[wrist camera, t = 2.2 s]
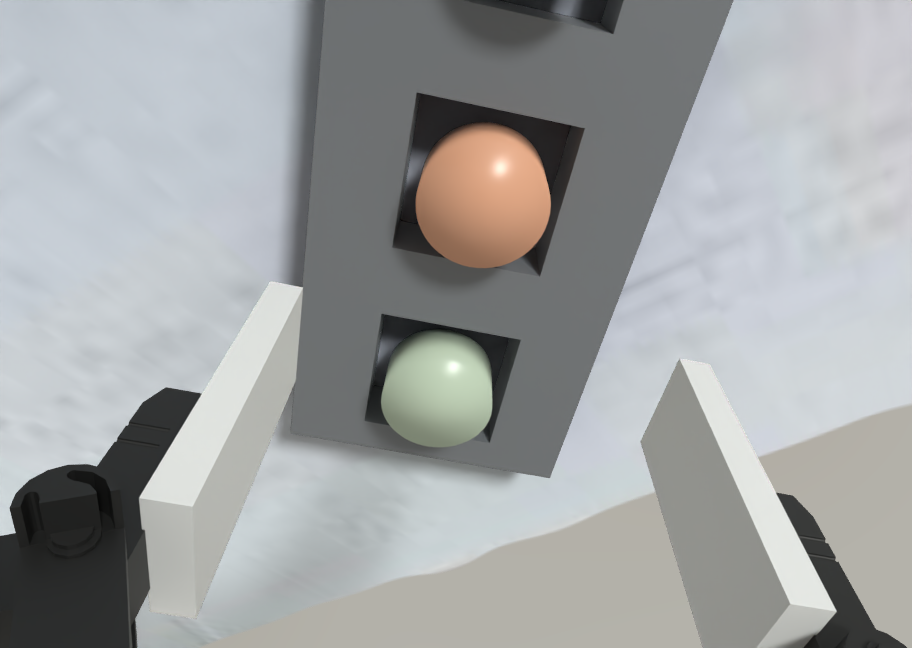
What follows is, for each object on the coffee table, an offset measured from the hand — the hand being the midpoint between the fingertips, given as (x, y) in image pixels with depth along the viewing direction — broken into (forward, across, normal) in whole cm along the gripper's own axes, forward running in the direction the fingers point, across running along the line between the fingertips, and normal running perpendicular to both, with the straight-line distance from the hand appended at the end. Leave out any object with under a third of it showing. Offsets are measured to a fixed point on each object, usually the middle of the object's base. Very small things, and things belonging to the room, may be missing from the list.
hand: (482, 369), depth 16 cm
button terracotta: (+13, 0, 0) cm, 13 cm away
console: (+15, 0, 0) cm, 15 cm away
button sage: (+13, 0, -10) cm, 17 cm away
